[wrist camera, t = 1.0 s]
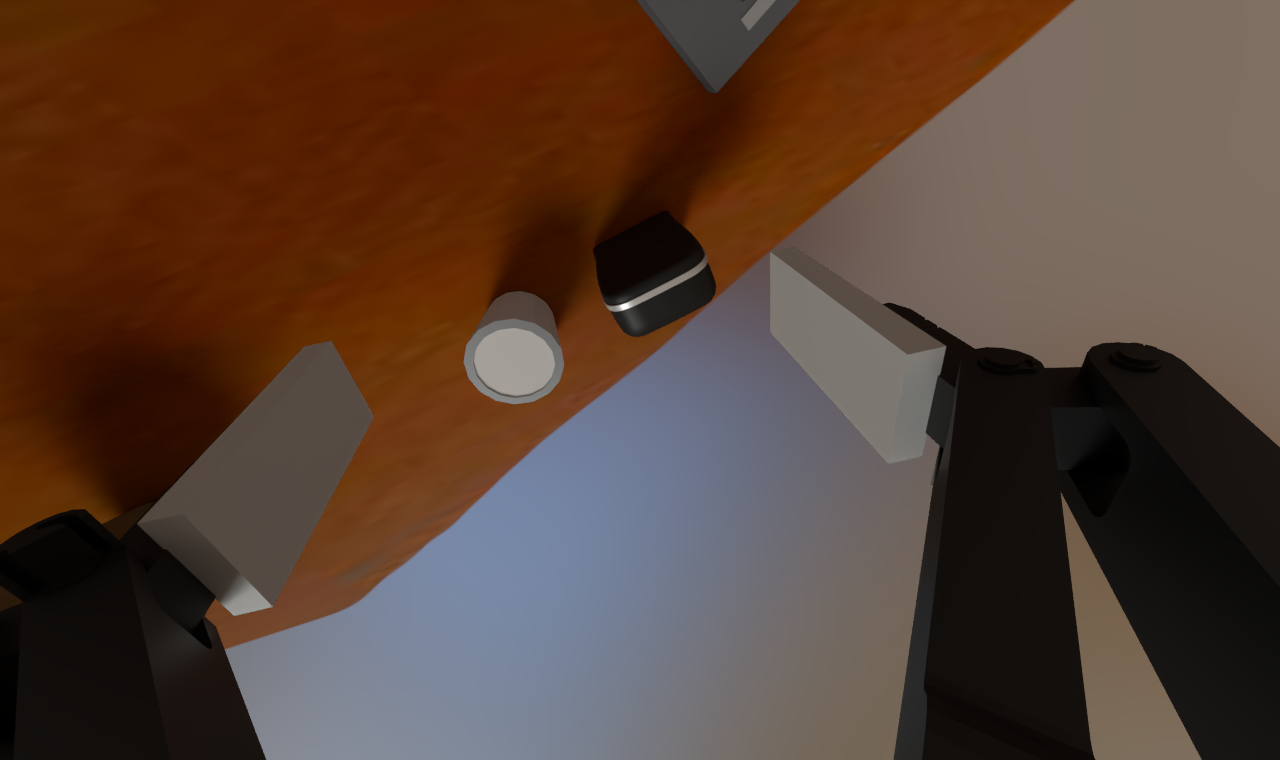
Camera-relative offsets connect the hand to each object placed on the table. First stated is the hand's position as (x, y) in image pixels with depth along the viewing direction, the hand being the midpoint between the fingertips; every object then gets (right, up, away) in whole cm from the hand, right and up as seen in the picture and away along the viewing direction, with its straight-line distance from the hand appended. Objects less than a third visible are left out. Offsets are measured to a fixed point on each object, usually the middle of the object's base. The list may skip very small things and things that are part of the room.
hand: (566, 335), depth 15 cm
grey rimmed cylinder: (-8, +3, +25) cm, 27 cm away
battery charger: (+2, +9, +24) cm, 25 cm away
